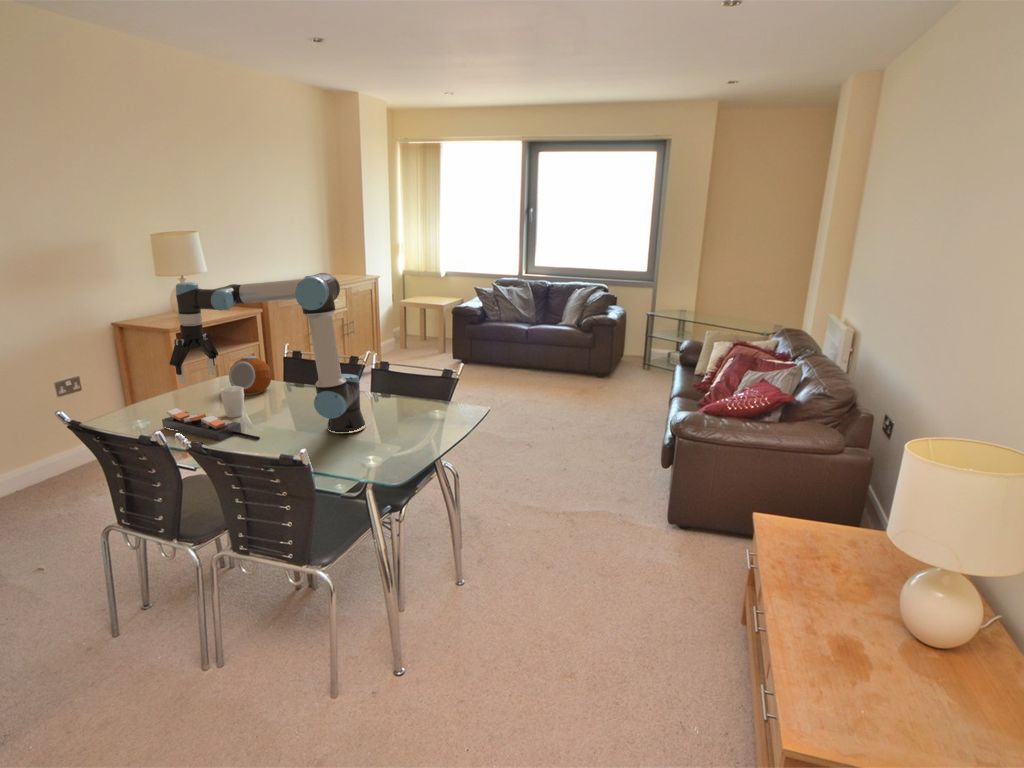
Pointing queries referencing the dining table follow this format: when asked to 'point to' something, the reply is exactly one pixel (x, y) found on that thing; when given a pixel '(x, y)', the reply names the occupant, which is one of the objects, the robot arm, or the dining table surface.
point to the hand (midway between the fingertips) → (197, 378)
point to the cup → (233, 400)
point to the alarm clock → (250, 375)
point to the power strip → (205, 428)
